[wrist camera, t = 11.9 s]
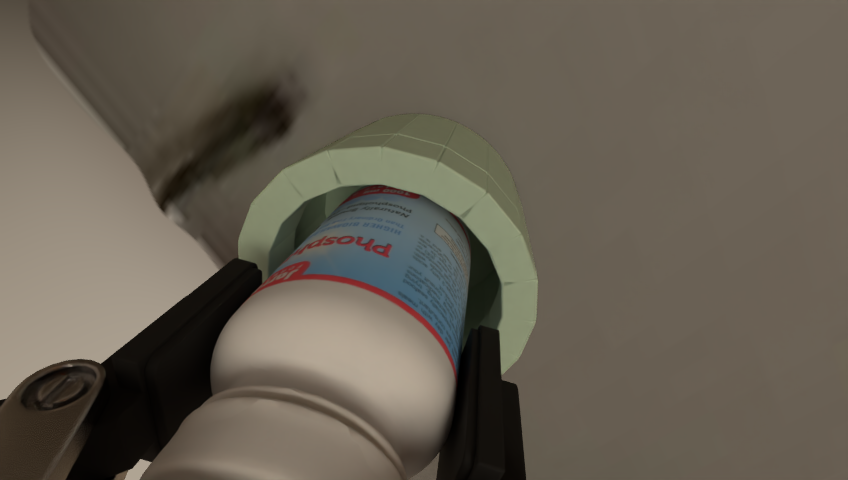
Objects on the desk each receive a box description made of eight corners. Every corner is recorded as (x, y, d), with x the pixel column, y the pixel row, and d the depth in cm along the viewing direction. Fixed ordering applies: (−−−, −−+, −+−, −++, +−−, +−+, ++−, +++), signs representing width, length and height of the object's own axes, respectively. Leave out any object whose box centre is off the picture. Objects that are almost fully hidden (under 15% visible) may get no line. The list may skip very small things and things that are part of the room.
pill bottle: (410, 145, 14) (221, 363, 4) (499, 261, 16) (520, 619, 6) (307, 227, 16) (29, 491, 6) (394, 320, 18) (279, 646, 8)
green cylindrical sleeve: (332, 89, 17) (233, 107, 10) (551, 144, 17) (593, 201, 10) (315, 272, 22) (240, 365, 15) (485, 319, 22) (483, 435, 15)
